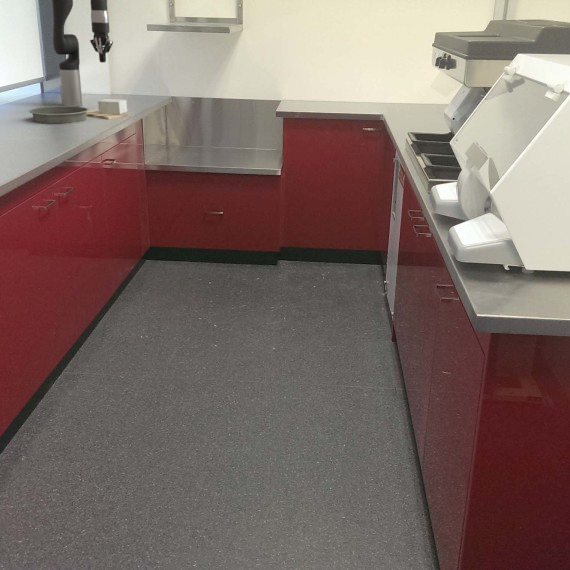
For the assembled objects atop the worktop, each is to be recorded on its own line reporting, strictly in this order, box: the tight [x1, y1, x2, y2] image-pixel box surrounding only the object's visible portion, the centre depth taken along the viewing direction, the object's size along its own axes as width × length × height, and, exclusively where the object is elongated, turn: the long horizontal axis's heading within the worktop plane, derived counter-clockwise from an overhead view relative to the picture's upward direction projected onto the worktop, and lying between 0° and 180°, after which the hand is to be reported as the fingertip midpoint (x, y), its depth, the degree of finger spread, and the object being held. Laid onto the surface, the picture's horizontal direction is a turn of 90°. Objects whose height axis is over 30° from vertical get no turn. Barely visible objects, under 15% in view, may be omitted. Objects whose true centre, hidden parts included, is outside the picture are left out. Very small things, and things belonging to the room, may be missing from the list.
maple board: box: [86, 109, 132, 120], centre depth 308 cm, size 20×13×1 cm, turn 55°
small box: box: [97, 98, 128, 114], centre depth 309 cm, size 8×6×10 cm
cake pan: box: [28, 105, 90, 124], centre depth 294 cm, size 25×25×4 cm
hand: (102, 62), depth 307 cm, fingers closed
